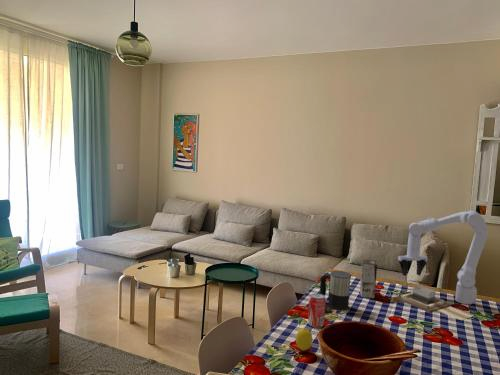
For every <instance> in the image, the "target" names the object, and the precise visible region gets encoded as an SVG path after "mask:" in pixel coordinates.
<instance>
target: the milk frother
mask: <svg viewBox="0 0 500 375" xmlns="http://www.w3.org/2000/svg"><path fill="white" fill-rule="evenodd" d="M351 278H352V274H351V273H349V272H346V271H342V270H341V271H340V270H332V271H330V273H328V272H327V273H324V274H323V275H321V277H320V279H319V282H320V283H319V284H320V285H319V290H320V291H319V294H322V295H324V296H325V297H326V295H327V294H326V293H327V279H329V286H328V297H327V299H328V302H326V304H325V313H329V312H330V311H331V310H332V309H334V310H340V311H345V310H348V309H349V308H350V305H349V301H350V291H351V290H350V288H351Z"/></svg>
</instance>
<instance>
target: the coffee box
mask: <svg viewBox="0 0 500 375" xmlns="http://www.w3.org/2000/svg"><path fill="white" fill-rule="evenodd" d="M377 270H378V264H377V262H376V260H374V259H373V260H371V259H370V260H369V259H361V272H360V287H359V292H360V296H361V297H362V298H369V299H375V295H376V284H377V283H376V282H377V272H378V271H377Z"/></svg>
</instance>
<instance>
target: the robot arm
mask: <svg viewBox="0 0 500 375" xmlns="http://www.w3.org/2000/svg"><path fill="white" fill-rule="evenodd" d="M453 223H463V224H466V223H467V224H468V225H469V226H470V227H471V229H472V230H473V231H474V235H473V237H472V241H471V244H470V246H469V250H468V253H467V255H466V257H465V261H464V264H463V265H462V267H461V269H460V270H458V272H457V274H456V277H457V279H458V281H457V282H456V288H455V300H454V301H455V302H458V303H461V304H465V305H472V304H475V305H478V303H477V296H478V290H477V287H476V286H475V285H476V275H477V274H476V273H477V266H478V264H479V260H480V258H481V255H482V252H483V250H484V247H485V244H486V241H487V237H488V234H489V229H488V227H487V224H486V219H485V218H484V217H483V216H482V214H480V213H479V212H478V211H476V210H473V209H471V210H470V209H469V210H466V211H460V212H455V213H453V214H450V215H446V216H444V217H441V218H438V219H437V218H435V217H427V219H424V220H421V221H420V220H418V221H417V222H412V223H410V225H409V226H408V231H409V232H408V238H407V249H406V254H405V255H398V256H397V260H398V264H399V265H400V268H401V273H402V274H401V275H402V276H404V277H406V276H407V272H408V267H409V262H408V261H410V262H411V261H413V262H415V261H416V275H417V276H421V274H422V272H423V270H424V268H425V267H426V265H427V262H428V260H429V259H428V256H427V255H421V244H422V243H421V242H422V238H421V237H422V234H426V233H430V232H434V231H436V230H439V228H440V227H441V226H445V225H449V224H453Z"/></svg>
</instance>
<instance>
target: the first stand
mask: <svg viewBox="0 0 500 375" xmlns="http://www.w3.org/2000/svg"><path fill="white" fill-rule="evenodd" d="M436 312H439V313H441V314H444V315H445V316H449V317H450V318H451V317H452V318H454V319H457V320H460V321H464V320H467V319H469V318H471V317H474V316H476V314H473V313H471V312H467V311H465V310H462V309H459V308H456V307H453V306H452V305H451V306H447V307H444V308H441V309H438V310H436Z"/></svg>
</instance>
